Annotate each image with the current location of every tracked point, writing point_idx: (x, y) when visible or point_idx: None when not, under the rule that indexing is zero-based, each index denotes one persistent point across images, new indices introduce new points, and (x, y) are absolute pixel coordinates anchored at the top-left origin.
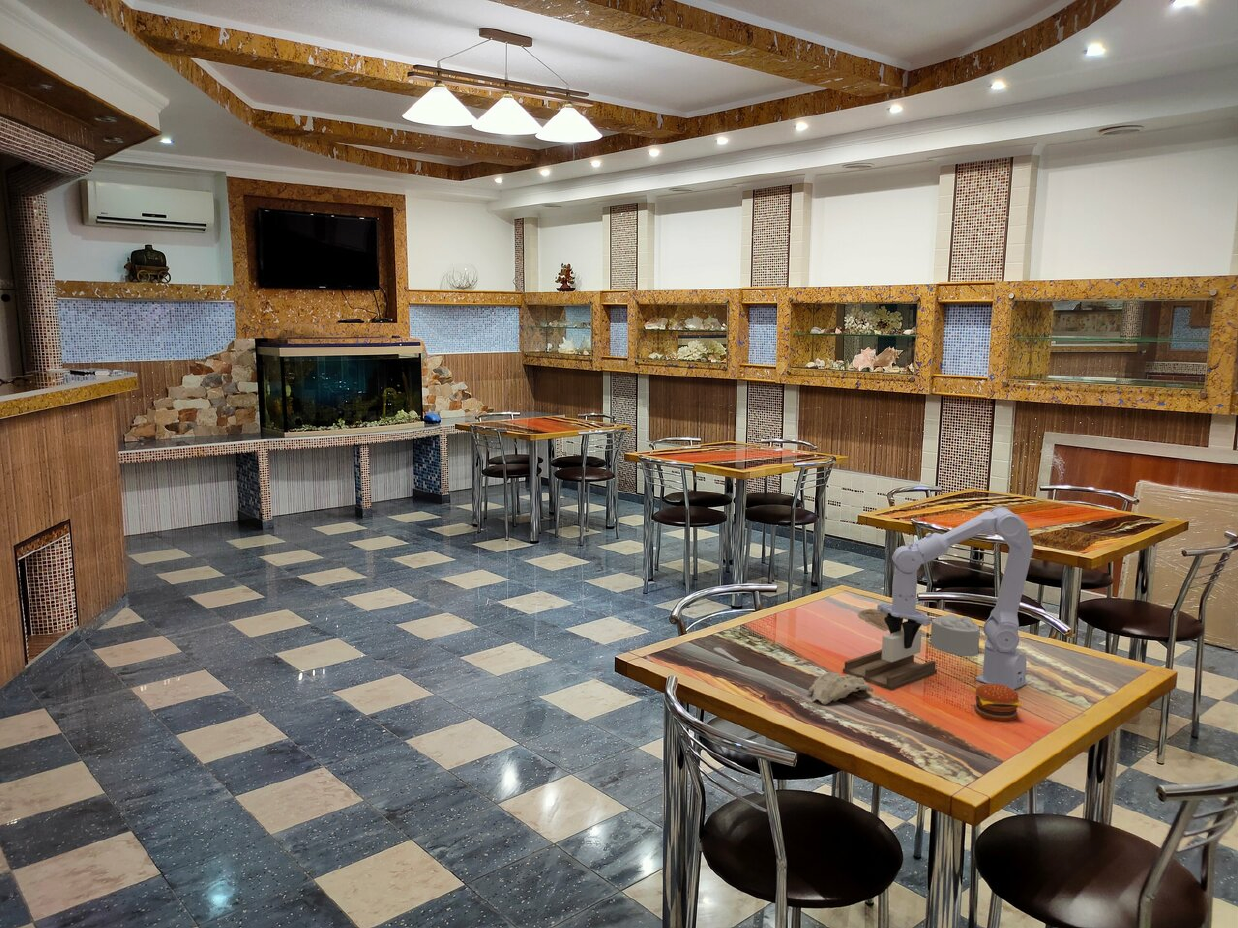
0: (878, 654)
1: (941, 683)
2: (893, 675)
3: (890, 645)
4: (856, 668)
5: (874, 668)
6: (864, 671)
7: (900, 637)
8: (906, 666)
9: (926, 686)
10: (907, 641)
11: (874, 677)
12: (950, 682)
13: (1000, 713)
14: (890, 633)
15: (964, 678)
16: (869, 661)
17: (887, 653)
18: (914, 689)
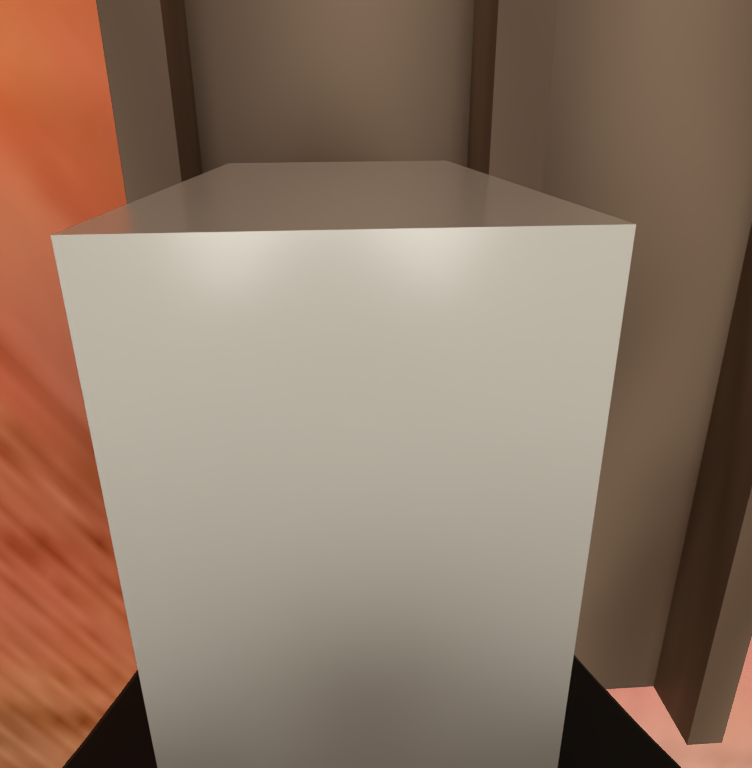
0: (721, 543)
1: (23, 559)
2: (152, 81)
3: (224, 198)
4: (748, 119)
5: (494, 89)
6: (629, 116)
7: (153, 678)
8: None
9: (28, 401)
10: (109, 718)
11: (436, 47)
12: (7, 628)
13: None
14: (641, 736)
15: (25, 756)
16: (725, 386)
17: (324, 170)
18: (18, 236)
